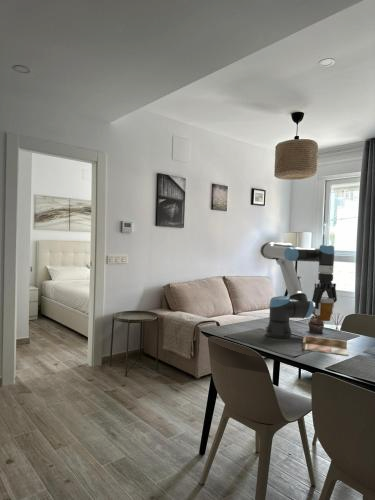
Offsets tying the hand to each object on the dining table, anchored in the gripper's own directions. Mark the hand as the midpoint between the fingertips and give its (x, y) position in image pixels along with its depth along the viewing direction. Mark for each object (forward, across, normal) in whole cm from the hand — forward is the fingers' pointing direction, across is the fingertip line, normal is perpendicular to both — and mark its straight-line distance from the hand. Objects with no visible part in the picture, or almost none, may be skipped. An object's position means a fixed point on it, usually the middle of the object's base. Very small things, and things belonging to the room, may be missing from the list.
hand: (324, 314), depth 194 cm
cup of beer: (+3, 0, 0) cm, 3 cm away
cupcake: (+18, +24, +27) cm, 40 cm away
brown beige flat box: (+18, -3, -4) cm, 18 cm away
